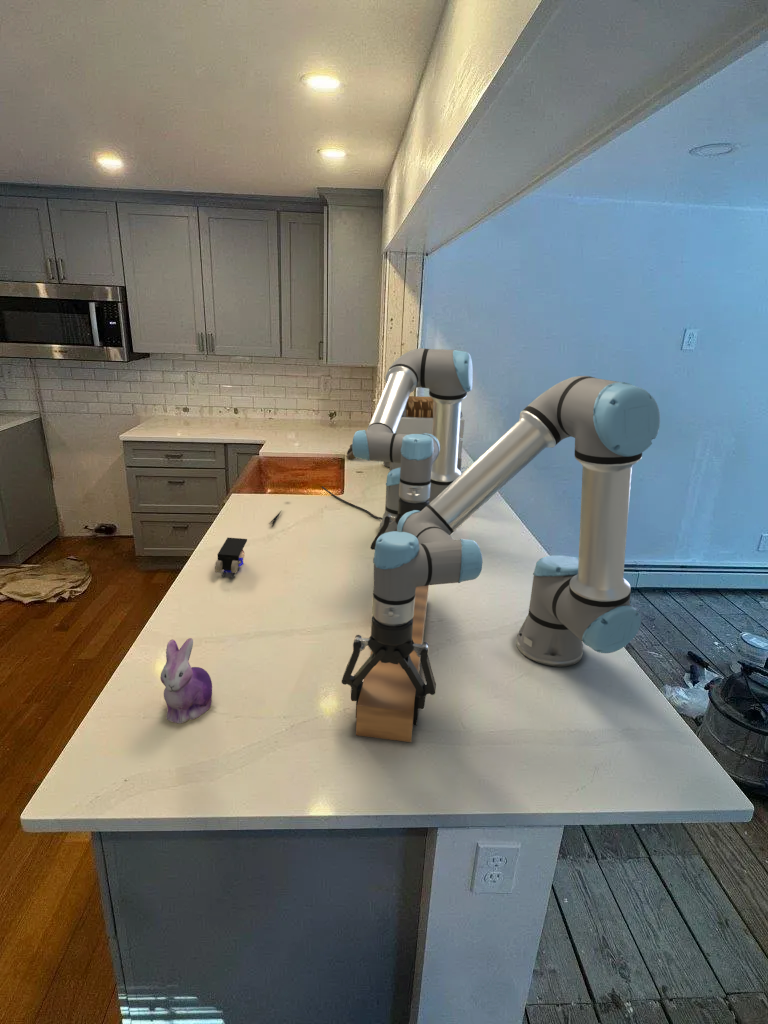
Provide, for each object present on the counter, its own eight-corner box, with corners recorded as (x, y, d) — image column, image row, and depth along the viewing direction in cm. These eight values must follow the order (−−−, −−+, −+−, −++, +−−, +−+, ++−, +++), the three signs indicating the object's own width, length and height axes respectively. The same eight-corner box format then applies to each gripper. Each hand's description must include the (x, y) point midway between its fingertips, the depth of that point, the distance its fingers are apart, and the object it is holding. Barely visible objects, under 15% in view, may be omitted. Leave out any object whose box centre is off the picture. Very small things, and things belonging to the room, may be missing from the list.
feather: (288, 505, 226) (290, 501, 226) (271, 529, 199) (273, 524, 199) (284, 503, 226) (287, 499, 225) (266, 526, 199) (269, 522, 199)
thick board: (389, 600, 154) (390, 577, 152) (427, 603, 153) (429, 581, 151) (355, 735, 105) (356, 705, 103) (410, 742, 104) (413, 711, 102)
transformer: (382, 463, 289) (386, 382, 275) (445, 464, 293) (451, 384, 279) (390, 482, 257) (394, 392, 243) (460, 483, 261) (468, 394, 247)
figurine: (167, 732, 103) (160, 663, 98) (160, 699, 112) (153, 633, 107) (220, 718, 108) (215, 650, 103) (209, 687, 116) (204, 623, 111)
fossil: (346, 442, 311) (368, 427, 306) (357, 455, 314) (379, 440, 309) (340, 456, 291) (363, 440, 286) (351, 470, 294) (374, 454, 289)
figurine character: (238, 584, 162) (249, 557, 175) (236, 562, 158) (247, 536, 172) (215, 584, 161) (227, 556, 175) (212, 561, 158) (225, 535, 171)
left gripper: (361, 499, 136) (358, 578, 143) (465, 507, 133) (457, 588, 141) (366, 490, 143) (363, 566, 150) (465, 498, 140) (457, 575, 148)
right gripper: (325, 620, 100) (324, 722, 107) (456, 634, 97) (445, 738, 105) (334, 600, 107) (333, 697, 114) (456, 612, 104) (446, 711, 112)
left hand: (408, 577), depth 145 cm, fingers open, 13 cm apart
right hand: (386, 717), depth 109 cm, fingers closed on thick board, 10 cm apart
